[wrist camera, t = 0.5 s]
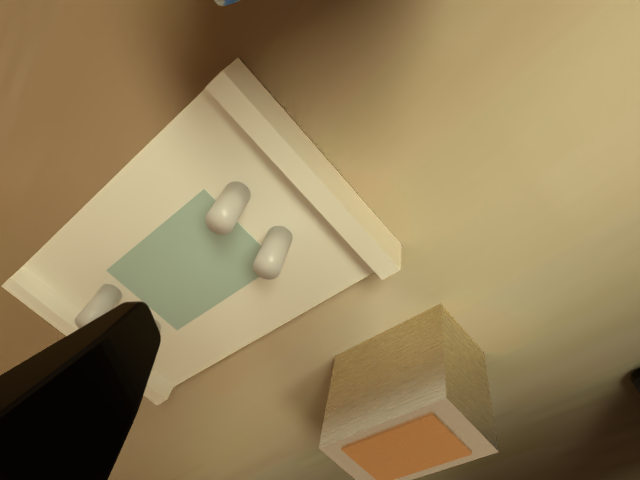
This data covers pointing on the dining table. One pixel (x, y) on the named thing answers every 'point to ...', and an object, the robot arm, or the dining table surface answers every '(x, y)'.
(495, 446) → the block
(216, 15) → the dining table surface
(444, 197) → the dining table surface
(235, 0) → the medicine box
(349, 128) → the dining table surface
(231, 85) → the pin tray
